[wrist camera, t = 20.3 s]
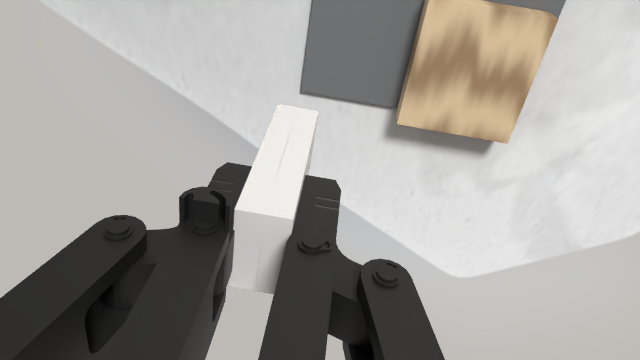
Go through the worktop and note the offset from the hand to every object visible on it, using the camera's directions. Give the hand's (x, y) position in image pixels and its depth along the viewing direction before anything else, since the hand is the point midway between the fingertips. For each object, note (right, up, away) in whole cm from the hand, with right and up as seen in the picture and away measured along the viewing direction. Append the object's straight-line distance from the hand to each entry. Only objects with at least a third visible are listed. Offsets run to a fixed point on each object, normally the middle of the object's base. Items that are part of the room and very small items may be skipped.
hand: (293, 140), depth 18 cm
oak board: (+9, +9, +23) cm, 26 cm away
